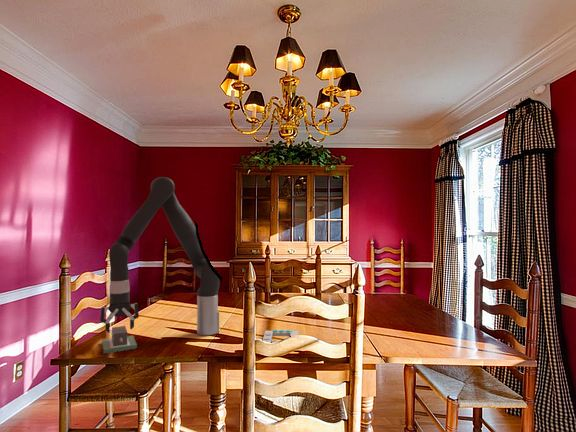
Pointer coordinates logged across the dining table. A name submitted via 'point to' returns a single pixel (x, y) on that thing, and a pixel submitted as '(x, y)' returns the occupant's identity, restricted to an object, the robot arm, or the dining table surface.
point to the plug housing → (119, 336)
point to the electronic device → (269, 334)
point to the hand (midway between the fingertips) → (119, 330)
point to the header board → (109, 346)
